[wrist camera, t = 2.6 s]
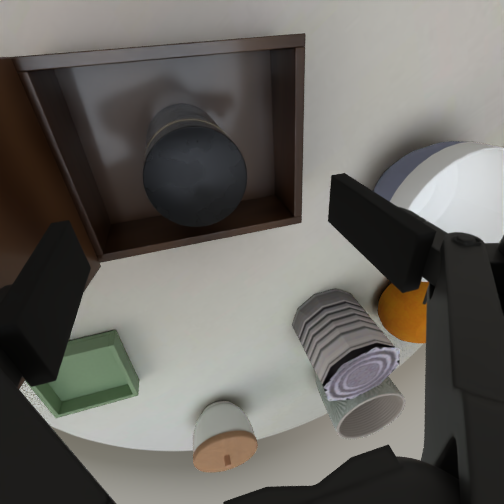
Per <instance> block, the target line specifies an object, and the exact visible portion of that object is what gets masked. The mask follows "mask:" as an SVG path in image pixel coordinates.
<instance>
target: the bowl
mask: <svg viewBox="0 0 504 504" xmlns="http://www.w3.org/2000/svg"><path fill="white" fill-rule="evenodd" d="M374 192H375V193H377V194H378V195H380V196H382V197H383V198H385V199H386V200H388V201H389V202H391V203H393V204H394V205H396V206H397V207H402V208H405V209H408V210H411V211H412V212H414V213H416V214H417V215H419V217H422V218H424V219H425V220H426V221H429V222H430V223H432V224H434V225H435V226H437V227H438V228H440V229H442V230H443V231H445V232H447V233H452V232H463V233H467V234H471V235H474V236H476V237H478V238H480V239H481V240H483V242H484V243H498V242H499V241H500V240H501V239H502V237H503V235H504V147H500V146H495V145H490V144H484V143H478V142H459V141H449V142H440V143H437V144H434V145H431V146H427V147H424V148H421V149H418V150H415V151H413V152H411V153H409V154H407V155H405V156H404V157H402V158H401V159H400V160H398V161H397V162H396V163H394V164H393V165H392V166H390V167H389V168H388V169H387V170H386V171H385V172H384V173H383V175H382V176H381V177H380V179H379V180H378V182H377V184H376V186H375V189H374ZM421 281H422V282H428V281H427V280H426V279H424V278H423V277H422V280H421Z"/></svg>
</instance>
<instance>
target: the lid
mask: <svg viewBox="0 0 504 504" xmlns="http://www.w3.org/2000/svg"><path fill="white" fill-rule="evenodd" d="M66 220H69V221H70V223H71V225H72V227H73V230H74V232H75V234H76V236H77V238H78V240H79V243H80V245H81V247H82V249H83V251H84V254H85V256H86V258H87V260H88V262H89V264H90V267H91V270H90V273H89V276H88V279H87V283H86V286H85V289H86V288H87V286H88V285H89V283H90V282H91V280H92V279H93V277H94V276H95V274H96V273H97V271H98V270H99V268H100V267H101V265H100V263H99V261H98V258H97V256H96V254H95V252H94V249H93V247H92V245H91V242H90V240H89V238H88V235H87V233H86V231H85V228H84V226H83V224H82V222H81V219H80V217H79V215H78V212H77V210H76V208H75V205H74V203H73V201H72V198H71V196H70V194H69V192H68V189H67V187H66V185H65V182H64V180H63V178H62V175H61V173H60V171H59V168H58V166H57V164H56V162H55V159H54V157H53V155H52V152H51V150H50V148H49V145H48V143H47V141H46V138H45V136H44V134H43V132H42V129H41V127H40V125H39V122H38V120H37V118H36V115H35V113H34V111H33V109H32V106H31V104H30V102H29V99H28V97H27V95H26V92H25V90H24V88H23V85H22V83H21V81H20V79H19V76H18V74H17V72H16V69H15V67H14V65H13V62H12V60H11V58H10V57H0V289H1V288H2V287H4V286H6V285H11V284H13V283H14V281H15V280H16V278H17V276H18V275H19V273H20V272H21V270H22V269H23V267H24V265H25V264H26V262H27V261H28V259H29V257H30V256H31V254H32V253H33V251H34V250H35V248H36V246H37V245H38V243H39V242H40V240H41V238H42V237H43V235H44V234H45V232H46V230H47V229H48V227H49V226H50V224H51V223H54V222H60V221H66ZM85 289H84V291H85ZM24 381H25V379H24V378H23V377H22V378H21V381H20V383H19V385H18V389H20V387H21V386H22V384H23V383H24Z"/></svg>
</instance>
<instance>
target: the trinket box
mask: <svg viewBox="0 0 504 504" xmlns="http://www.w3.org/2000/svg"><path fill="white" fill-rule="evenodd" d="M257 446H258V445H257V440H256V437H255V435H254V431H253V428H252V425H251V423H250V421H249V419H248V417H247V415H246V414H245V412H244V411H243V410H242V409H241V408H239V407H238V406H236V405H234V404H233V403H232V402H230V401H218V402H215V403H212V404H210V405H209V406H207V407H206V408H205V409H204V410H203V412H202V414H201V416H200V417H199V419H198V420H197V423H196V425H195V428H194V433H193V453H194V454H193V462H194V466H195V467H196V468H197V469H198V470H200V471H203V472H221V471H225V470H229V469H232V468H234V467H237V466H239V465H241V464H243V463H244V462H246V461H247V460H248V459H250V458H251V457H252V456H253V455H254V453H255V452H256V450H257Z"/></svg>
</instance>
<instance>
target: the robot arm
mask: <svg viewBox="0 0 504 504" xmlns="http://www.w3.org/2000/svg"><path fill="white" fill-rule="evenodd" d="M328 222H329V223H331V224H332V225H333V226H334V227H335V228H336V229H337V230H338V231H339V232H340V233H341V234H342V235H343V236H344V237H345V238H346V239H347V240H348V241H349V242H350V243H351V244H352V245H353V246H354V247H355V248H356V249H357V250H358V251H359V252H360V253H361V254H362V255H364V256H365V257H366V258H367V259H368V260H369V261H370V262H371V263H372V264H373V265H374V266H375V267H376V268H377V269H378V270H379V271H380V272H381V273H382V274H383V275H384V276H385V277H386V278H387V279H388V280H389V281H390V282H391V283H392V284H393V285H394V286H395V287H397V288H398V289H399V290H400V291H401V292H402V293H405V292H409V291H413V290H417V289H419V286H420V283H421V280H422V277H423V278H424V279H426V280H427V281H428V282H429V285H428V288H427V291H426V294H425V297H424V300H423V303H422V304H426V302H427V314H426V375H425V437H424V438H425V439H424V448H423V453H422V458H421V461H420V460H416V459H412V458H407V457H396V456H395V454H394V453H393V451H392V449H391V448H390V446H389V445H386V446H383V447H380V448H377V449H374V450H372V451H369V452H366V453H363V454H360V455H357V456H354V457H351V458H350V459H349V460H347V461H346V462H345V463H344V464H342V465H341V466H340V467H338V468H337V469H336V470H335V471H333V472H332V473H331V474H329V475H328V476H327V477H326V478H324V479H323V480H322V481H321V482H320V483H318V484H316V485H313V486H281V487H265V488H262V489H259V490H256V491H254V492H250V493H248V494H245V495H242V496H239V497H236V498H233V499H230V500H228V501H225V502H224V504H504V235H503V237H502V239H501V242H500V243H484V242H483V240H481V239H480V238H478V237H476V236H474V235H471V234H467V233H463V232H452V233H447V232H445V231H443V230H442V229H440V228H438V227H437V226H435V225H434V224H432V223H430V222H429V221H426V220H425V219H424V218H422V217H419V215H417V214H416V213H414V212H412V211H411V210H408V209H405V208H402V207H397V206H396V205H394V204H393V203H391V202H389V201H388V200H386V199H385V198H383V197H382V196H380V195H378V194H377V193H375V192H374V191H372V190H370V189H369V188H367V187H366V186H364V185H362V184H361V183H359V182H358V181H356V180H355V179H353V178H351V177H350V176H348V175H347V174H345V173H343V174H337V175H332V176H331V189H330V202H329V215H328ZM90 270H91V267H90V264H89V262H88V260H87V258H86V256H85V254H84V251H83V249H82V247H81V245H80V243H79V240H78V238H77V236H76V234H75V232H74V230H73V227H72V225H71V223H70V221H69V220H66V221H60V222H54V223H51V224H50V226H49V227H48V229H47V230H46V232H45V234H44V235H43V237H42V238H41V240H40V242H39V243H38V245H37V246H36V248H35V250H34V251H33V253H32V254H31V256H30V257H29V259H28V261H27V262H26V264H25V265H24V267H23V269H22V270H21V272H20V273H19V275H18V276H17V278H16V280H15V281H14V283H13V284H11V285H6V286H4V287H2V288H1V289H0V504H116V503H115V502H114V500H113V499H112V498H111V497H110V496H109V494H108V493H107V492H106V491H105V490H104V489H103V488H102V486H101V485H100V484H99V483H98V482H97V480H96V479H95V478H94V477H93V476H92V475H91V473H90V472H89V471H88V470H87V469H86V468H85V466H84V465H83V464H82V463H81V462H80V461H79V459H78V458H77V457H76V456H75V455H74V453H73V452H72V451H71V450H70V449H69V448H68V446H67V445H66V444H65V443H64V442H63V441H62V439H61V438H60V437H59V436H58V435H57V434H56V432H55V431H54V430H53V429H52V428H51V427H50V425H49V424H48V423H47V422H46V421H45V419H44V418H43V417H42V416H41V415H40V414H39V412H38V411H37V410H36V409H35V408H34V407H33V405H32V404H31V403H30V402H29V401H28V400H27V398H26V397H25V396H24V395H23V394H22V393H21V391H20V390H19V389H18V385H19V383H20V381H21V378H22V377H23V378H24V379H25V380H26V382H27V383H28V384H29V385H30V386H31V387H33V386H37V385H41V384H45V383H49V382H53V381H56V379H57V376H58V373H59V370H60V366H61V363H62V360H63V357H64V353H65V350H66V347H67V344H68V341H69V337H70V334H71V331H72V328H73V324H74V321H75V318H76V315H77V312H78V308H79V305H80V302H81V299H82V295H83V292H84V289H85V286H86V283H87V279H88V276H89V273H90Z"/></svg>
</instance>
